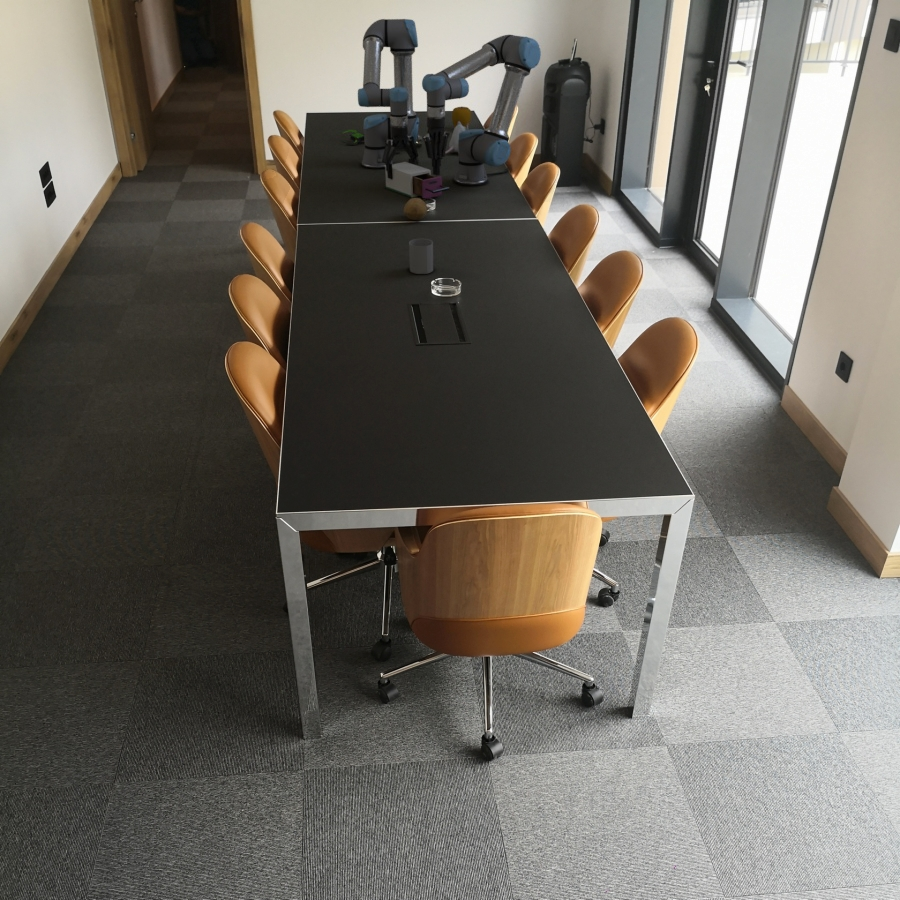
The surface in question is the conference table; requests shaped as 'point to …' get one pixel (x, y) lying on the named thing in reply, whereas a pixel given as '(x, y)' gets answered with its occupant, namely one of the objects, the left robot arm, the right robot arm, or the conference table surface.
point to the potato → (415, 209)
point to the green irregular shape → (354, 137)
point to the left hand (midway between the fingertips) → (400, 176)
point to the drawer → (428, 185)
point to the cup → (421, 256)
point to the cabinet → (404, 178)
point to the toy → (456, 138)
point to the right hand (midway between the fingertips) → (436, 174)
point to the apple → (461, 116)
